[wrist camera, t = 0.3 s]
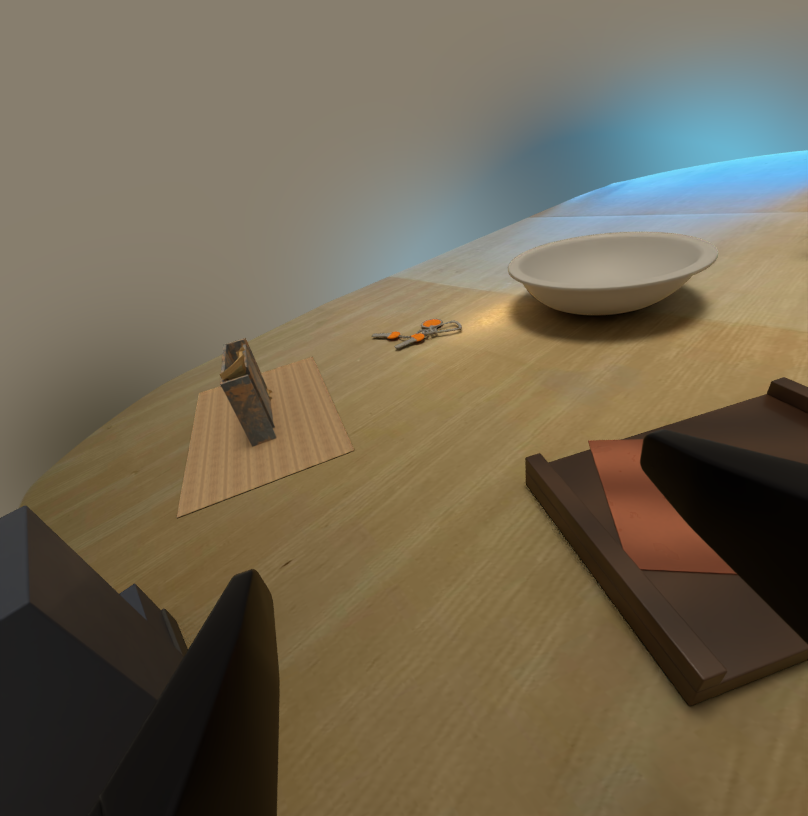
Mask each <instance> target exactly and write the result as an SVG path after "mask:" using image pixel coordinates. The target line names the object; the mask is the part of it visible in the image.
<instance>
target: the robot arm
mask: <svg viewBox="0 0 808 816" xmlns="http://www.w3.org/2000/svg"><path fill="white" fill-rule="evenodd" d="M640 465H641V468H642V470H643V472H644V473H645V474H646V475H647V477H648V478H649V479H650V480H651V481H652V483H653V484H654V485H655V486H656V487H657V489H658V490H659V491H660V492H661V493H662V495H663V496H664V497H665V498H666V499H667V501H668V502H669V503H670V504H671V505H672V507H673V508H674V509H675V510H676V511H677V513H678V514H679V515H680V516H681V517H682V518H683V520H684V521H685V522H686V523H687V524H688V525H689V526H690V527H691V528H692V529H693V531H694V532H695V533H696V534H697V535H698V536H699V537H700V538H701V539H702V540H703V541H704V542H705V543H706V544H707V545H708V546H709V547H710V548H711V549H712V550H713V551H714V552H715V553H716V554H717V555H718V556H719V557H720V558H721V559H722V560H723V561H724V562H725V563H726V564H727V565H728V566H729V567H730V568H731V569H732V570H733V571H734V572H735V573H736V574H737V575H738V576H739V577H740V578H741V579H742V580H743V581H744V582H745V583H746V584H747V585H748V586H749V587H750V588H751V589H752V590H753V591H754V592H755V593H756V594H757V595H758V596H759V597H760V598H761V599H762V600H763V601H764V602H765V603H766V604H767V605H768V606H769V607H770V608H771V609H772V610H773V611H774V612H775V613H776V614H777V615H778V616H779V617H780V618H781V619H782V620H783V621H784V622H785V623H786V624H787V625H788V626H789V627H790V628H791V629H792V630H793V631H794V632H795V633H796V634H797V635H798V636H799V637H800V638H801V639H802V640H803V641H804V642H805V643H806V644H807V645H808V464H804V463H800V462H796V461H792V460H788V459H784V458H780V457H776V456H772V455H768V454H764V453H760V452H755V451H751V450H747V449H743V448H739V447H735V446H731V445H727V444H723V443H719V442H715V441H711V440H706V439H702V438H698V437H694V436H690V435H686V434H682V433H678V432H674V431H670V430H665V429H662V430H657V431H655V432H652V433H649V434H647V435H645V437H644V439H643V444H642V450H641V457H640ZM278 738H279V666H278V654H277V643H276V631H275V619H274V607H273V600H272V596H271V593H270V591H269V589H268V588H267V586H266V584H265V583H264V581H263V580H262V578H261V576H260V575H259V573H258V572H257V571H256V570H255V569H251V570H248V571H245V572H242V573H239V574H236V575H235V576H234V577H233V578H232V579H231V580H230V582H229V584H228V585H227V587H226V589H225V590H224V592H223V593H222V595H221V597H220V598H219V600H218V602H217V603H216V605H215V607H214V608H213V610H212V611H211V613H210V615H209V616H208V618H207V620H206V621H205V623H204V625H203V626H202V628H201V630H200V631H199V633H198V634H197V636H196V638H195V639H194V641H193V643H192V644H191V646H190V648H189V649H188V651H187V653H186V654H185V656H184V657H183V659H182V661H181V662H180V664H179V666H178V667H177V669H176V671H175V672H174V674H173V675H172V677H171V679H170V680H169V682H168V684H167V685H166V687H165V689H164V690H163V692H162V694H161V695H160V697H159V698H158V700H157V702H156V703H155V705H154V707H153V708H152V710H151V712H150V713H149V715H148V717H147V718H146V720H145V721H144V723H143V725H142V726H141V728H140V730H139V731H138V733H137V735H136V736H135V738H134V739H133V741H132V743H131V744H130V746H129V748H128V749H127V751H126V753H125V754H124V756H123V758H122V759H121V761H120V762H119V764H118V766H117V767H116V769H115V771H114V772H113V774H112V776H111V777H110V779H109V781H108V782H107V784H106V785H105V787H104V789H103V790H102V792H101V794H100V800H98V801H96V802H95V803H94V805H93V806H92V808H91V810H90V811H89V813H88V815H87V816H277V783H278Z"/></svg>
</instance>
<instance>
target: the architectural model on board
mask: <svg viewBox="0 0 808 816" xmlns="http://www.w3.org/2000/svg"><path fill="white" fill-rule="evenodd" d="M220 376H221V382H220V385H221V386H220V387H217V388H214V389H211V390H207V391H204V392H201V393H199V397H198V402H197V408H196V413H195V419H194V424H193V430H192V435H191V441H190V447H189V452H188V458H187V463H186V469H185V474H184V480H183V485H182V491H181V496H180V502H179V508H178V513H177V518H178V517H180V516H183V515H186V514H188V513H191V512H193V511H196V510H199V509H201V508H204V507H206V506H209V505H212V504H214V503H217V502H220V501H222V500H225V499H227V498H230V497H233V496H235V495H238V494H241V493H243V492H246V491H248V490H251V489H254V488H256V487H259V486H262V485H264V484H267V483H269V482H272V481H275V480H277V479H280V478H283V477H285V476H288V475H290V474H293V473H296V472H298V471H301V470H304V469H306V468H309V467H311V466H314V465H317V464H319V463H322V462H325V461H327V460H330V459H332V458H335V457H338V456H340V455H343V454H346V453H348V452H351V451H353V450H354V448H353V446H352V444H351V441H350V439H349V437H348V435H347V432H346V430H345V428H344V426H343V423H342V421H341V419H340V417H339V414H338V412H337V410H336V408H335V405H334V403H333V401H332V399H331V397H330V394H329V392H328V390H327V388H326V385H325V383H324V381H323V379H322V376H321V374H320V372H319V370H318V367H317V365H316V363H315V361H314V358H313V357H310V358H307V359H304V360H301V361H297V362H294V363H291V364H288V365H285V366H282V367H279V368H276V369H273V370H270V371H266V372H263V373H261V372H260V370H259V367H258V365H257V363H256V360H255V358H254V356H253V354H252V351H251V349H250V347H249V345H248V342H247V340H246V338H244V339H240V340H237V341H234V342H231V343H227V344H224V345H223V357H222V370H221V374H220Z"/></svg>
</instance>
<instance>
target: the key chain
mask: <svg viewBox="0 0 808 816" xmlns="http://www.w3.org/2000/svg"><path fill="white" fill-rule="evenodd" d="M442 323H443V321H442V320H440V319H430V320H427V321H424V322H423V323H422V324H421V326H422V328H425V329H422V330H419V331H418V332H417V333H416V334H415V335H412V336H401V335H400V333H399V332H392V333H386V334H385V333H382V334H381V333H380V334H377V333H376V334H373V335H372V337H387V339H394V338H397V337H401V338H410V339H409V340H407V341H404V342H402V343H400V344H398V345H396V346H395V348H401V347H402V346H405V345H408V344H409V343H413V342H415V341H417V342H418V341H421V340H422V339H424V337H425V336H427V335H429V334H433V333H441V332H448V331H455V330H460V329H461V328H462V326H461V324H460V323H459V322H457V321H450V322H447V323H456V324H457V325H458V326H459V328H454V329H448V330H441V331H437V327H439V326H441V325H444V324H447V323H443V324H442ZM426 329H428V330H426ZM422 331H423V332H422ZM429 331H431V332H429ZM420 332H422V334H418V333H420ZM426 332H427V333H426Z"/></svg>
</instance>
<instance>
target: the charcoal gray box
mask: <svg viewBox="0 0 808 816" xmlns="http://www.w3.org/2000/svg"><path fill="white" fill-rule="evenodd" d="M187 651H188V649H187V647H186V644H185V642H184V639H183V637H182V634H181V632H180V629H179V627H178V624H177V622H176V620H175V619H174V618H173V617H172V616H171V615H170V614H169V613H168V611H167V610H166V609H162V610H160V609H159V608H158V607H157V606H156V605H155V604H154V603H153V602H152V601H151V600H150V599H149V598H148V596H147V595H146V594H145V593H144V592H143V591H142V590H141V589H140V588H139V587H138V586H137V585H136V584H133V585H132V586H130V587H129V588H127V589H126V590H124V591H123V592H121V593H120V594H119V593H117V592H116V591H115V590H114V589H113V588H112V587H111V586H110V585H109V584H108V583H107V582H106V581H105V580H104V579H103V578H102V577H101V576H100V575H99V574H98V573H97V572H95V571H94V570H93V569H92V568H91V567H90V566H89V565H88V564H87V563H86V562H85V561H84V560H83V559H82V558H81V557H80V556H79V555H78V554H77V553H76V552H74V551H73V550H72V549H71V548H70V547H69V546H68V545H67V544H66V543H65V542H64V541H63V540H62V539H61V538H60V537H59V536H58V535H57V534H56V533H55V532H54V531H52V530H51V529H50V528H49V527H48V526H47V525H46V524H45V523H44V522H43V521H42V520H41V519H40V518H39V517H38V516H37V515H36V514H35V513H34V512H33V511H32V510H30V509H29V508H28V507H27V506H23V507H21V508H19V509H17V510H15V511H13V512H11V513H9V514H7V515H5V516H3V517H1V518H0V816H87V815H88V813H89V811H90V810H91V808H92V806H93V805H94V803H95V802H96V801H98V800H100V794H101V792H102V790H103V789H104V787H105V785H106V784H107V782H108V781H109V779H110V777H111V776H112V774H113V772H114V771H115V769H116V767H117V766H118V764H119V762H120V761H121V759H122V758H123V756H124V754H125V753H126V751H127V749H128V748H129V746H130V744H131V743H132V741H133V739H134V738H135V736H136V735H137V733H138V731H139V730H140V728H141V726H142V725H143V723H144V721H145V720H146V718H147V717H148V715H149V713H150V712H151V710H152V708H153V707H154V705H155V703H156V702H157V700H158V698H159V697H160V695H161V694H162V692H163V690H164V689H165V687H166V685H167V684H168V682H169V680H170V679H171V677H172V675H173V674H174V672H175V671H176V669H177V667H178V666H179V664H180V662H181V661H182V659H183V657H184V656H185V654H186V653H187Z"/></svg>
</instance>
